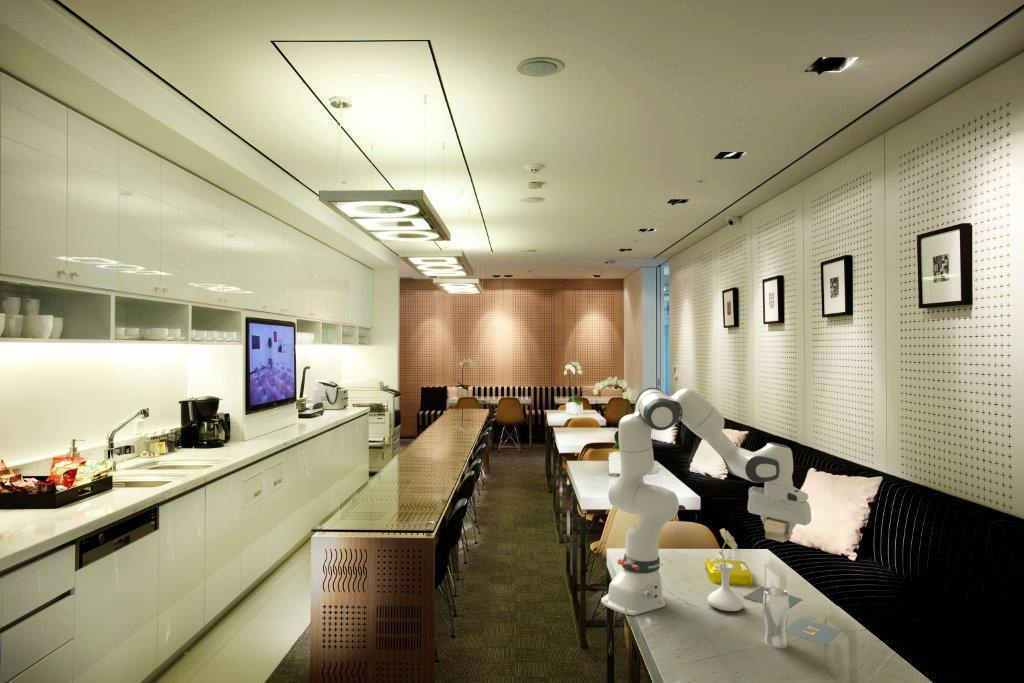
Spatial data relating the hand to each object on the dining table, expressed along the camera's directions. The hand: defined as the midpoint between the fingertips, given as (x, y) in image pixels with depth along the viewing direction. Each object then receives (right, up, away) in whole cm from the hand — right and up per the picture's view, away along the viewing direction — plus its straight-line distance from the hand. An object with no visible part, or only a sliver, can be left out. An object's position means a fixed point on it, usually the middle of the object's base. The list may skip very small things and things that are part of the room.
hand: (778, 532), depth 195 cm
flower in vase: (-19, -24, -3) cm, 31 cm away
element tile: (-9, -25, +22) cm, 34 cm away
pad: (0, -24, +3) cm, 24 cm away
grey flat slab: (+1, -24, -20) cm, 31 cm away
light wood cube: (0, -2, 0) cm, 2 cm away
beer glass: (-13, -24, -27) cm, 39 cm away
